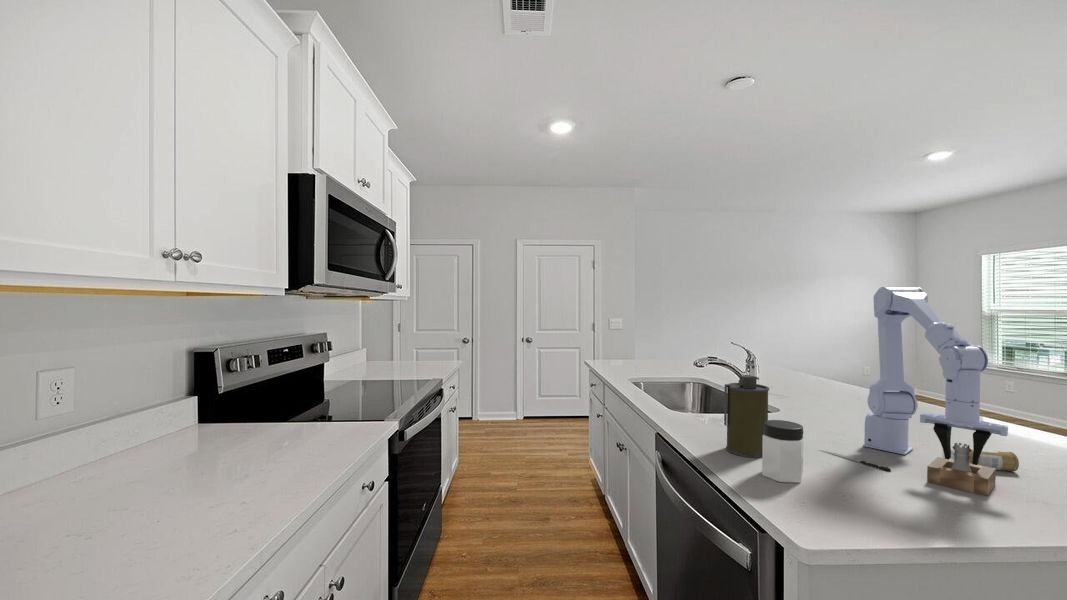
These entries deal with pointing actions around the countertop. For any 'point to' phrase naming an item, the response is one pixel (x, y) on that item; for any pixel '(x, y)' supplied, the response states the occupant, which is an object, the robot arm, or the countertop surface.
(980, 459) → the sprinkles bottle
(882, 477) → the countertop surface
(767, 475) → the jar
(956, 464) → the rook chess piece
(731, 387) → the canister
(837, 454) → the chef's knife
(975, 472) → the bore block
